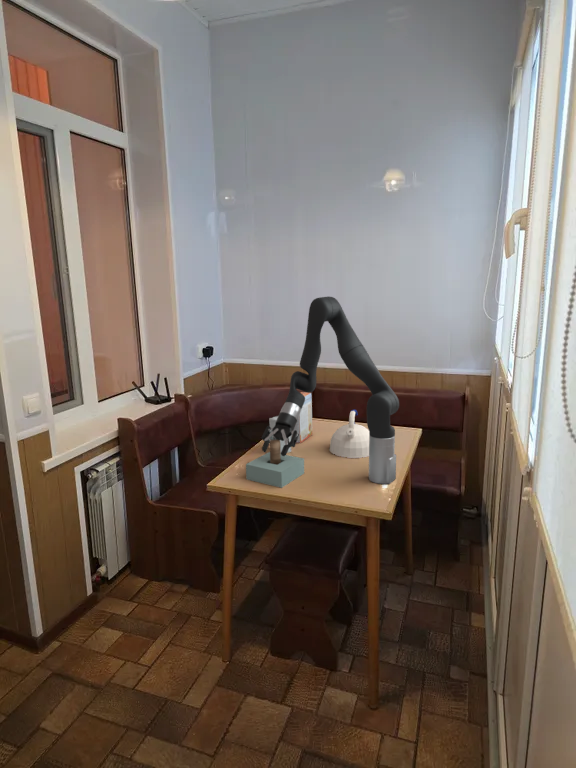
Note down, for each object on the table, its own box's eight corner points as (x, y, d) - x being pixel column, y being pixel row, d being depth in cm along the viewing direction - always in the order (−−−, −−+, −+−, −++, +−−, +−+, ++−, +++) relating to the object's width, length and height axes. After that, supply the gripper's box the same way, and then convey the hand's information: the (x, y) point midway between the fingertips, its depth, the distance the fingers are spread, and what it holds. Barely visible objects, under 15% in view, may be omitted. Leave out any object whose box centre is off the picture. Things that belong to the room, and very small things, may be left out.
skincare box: (291, 452, 223) (291, 419, 220) (279, 455, 220) (279, 421, 217) (281, 446, 230) (280, 414, 227) (269, 449, 227) (268, 417, 224)
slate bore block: (304, 473, 199) (304, 458, 198) (281, 487, 186) (281, 472, 185) (270, 465, 208) (269, 451, 207) (246, 479, 195) (245, 464, 193)
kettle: (325, 457, 217) (325, 415, 213) (333, 441, 236) (333, 403, 232) (374, 460, 212) (375, 418, 208) (378, 444, 231) (378, 405, 228)
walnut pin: (282, 472, 198) (282, 440, 195) (277, 476, 194) (276, 443, 191) (274, 470, 200) (273, 438, 197) (268, 474, 196) (267, 441, 194)
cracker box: (301, 433, 249) (300, 391, 244) (312, 435, 246) (312, 392, 242) (288, 442, 236) (287, 397, 232) (300, 443, 234) (299, 399, 229)
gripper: (269, 409, 202) (253, 445, 195) (300, 414, 194) (284, 451, 187) (277, 419, 207) (261, 454, 200) (307, 423, 200) (292, 461, 193)
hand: (273, 453), depth 194 cm, fingers open, 8 cm apart
